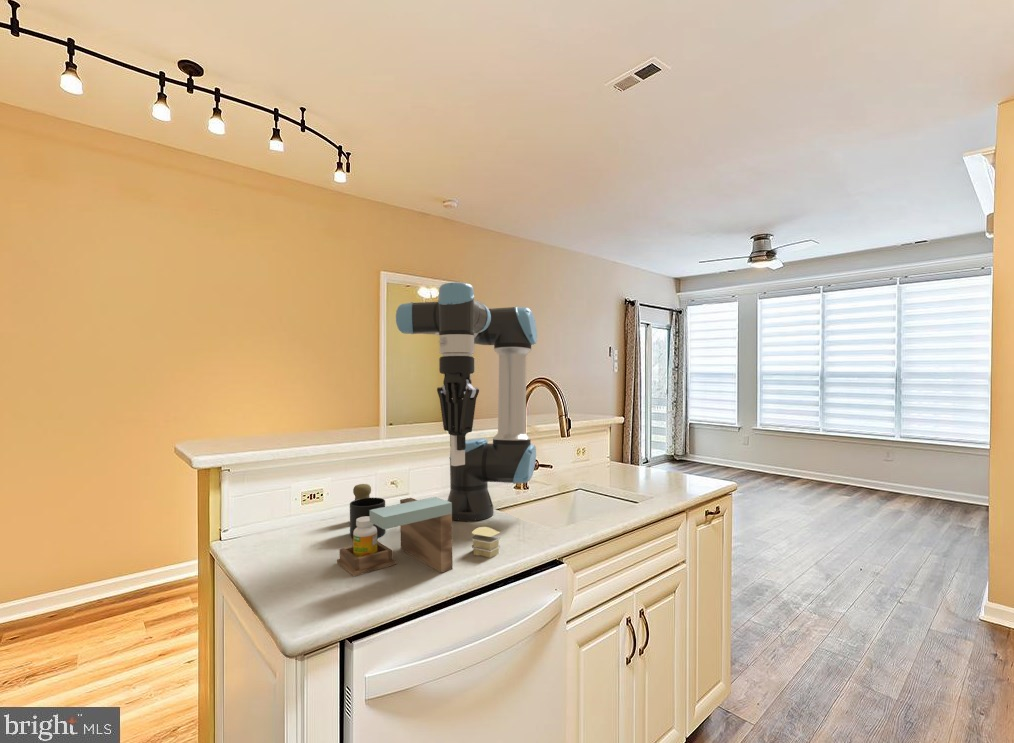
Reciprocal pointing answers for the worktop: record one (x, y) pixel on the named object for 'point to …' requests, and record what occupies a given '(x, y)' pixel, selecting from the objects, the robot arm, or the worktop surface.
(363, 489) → the cork
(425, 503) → the plank
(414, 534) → the wall
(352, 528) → the mug
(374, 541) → the supplement bottle
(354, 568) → the brown wooden square tray
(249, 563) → the worktop surface
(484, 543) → the pale yellow layered block
